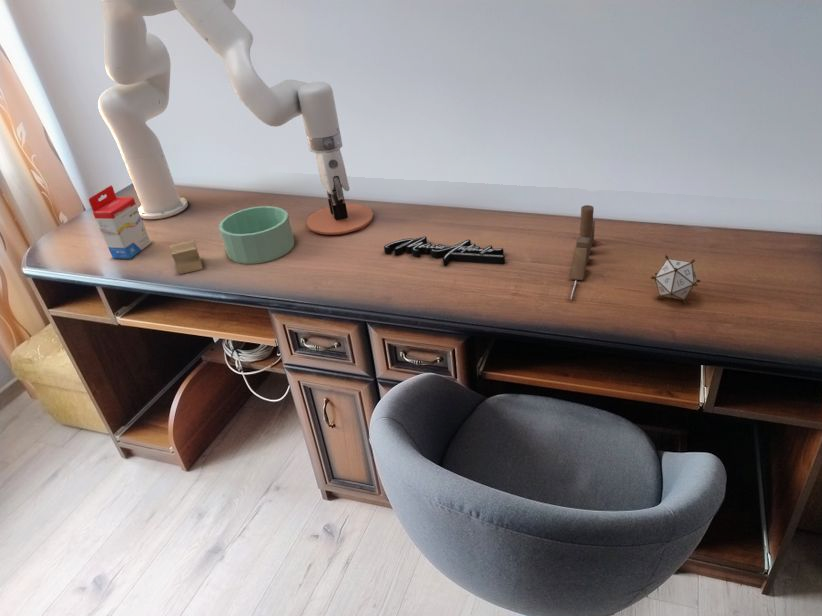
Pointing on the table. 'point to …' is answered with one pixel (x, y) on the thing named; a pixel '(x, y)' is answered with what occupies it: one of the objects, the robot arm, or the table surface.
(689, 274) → the game die
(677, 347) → the table surface
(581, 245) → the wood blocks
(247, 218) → the green round container
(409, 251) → the nameplate
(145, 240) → the ink box
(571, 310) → the table surface
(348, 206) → the lid
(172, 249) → the block
